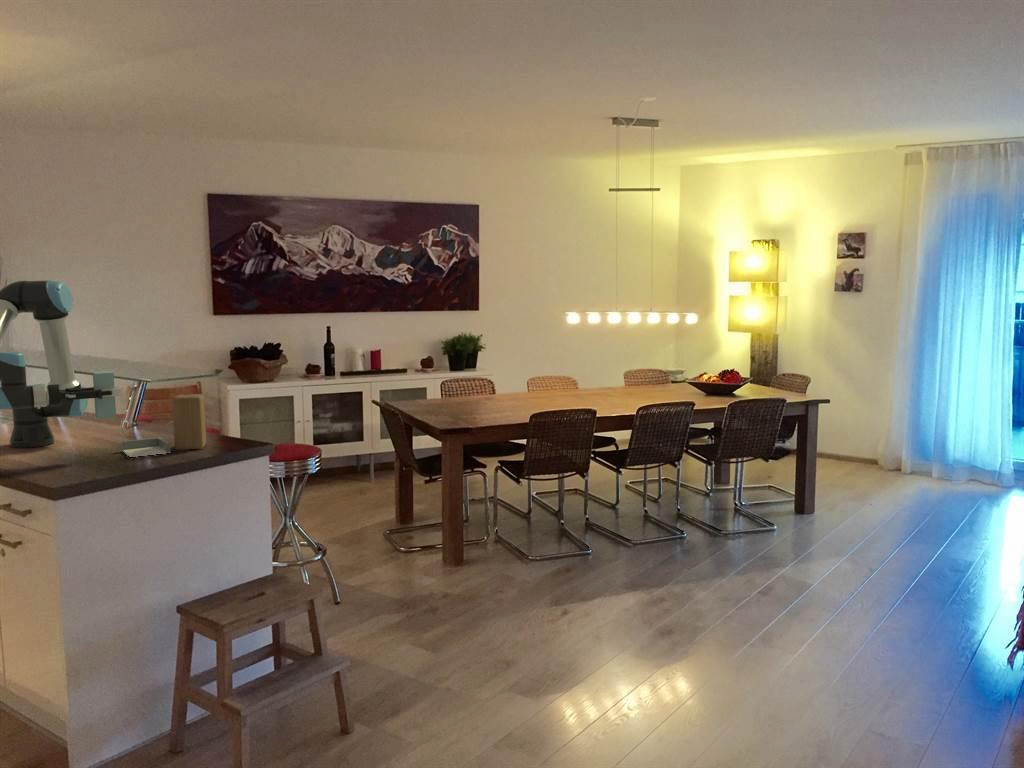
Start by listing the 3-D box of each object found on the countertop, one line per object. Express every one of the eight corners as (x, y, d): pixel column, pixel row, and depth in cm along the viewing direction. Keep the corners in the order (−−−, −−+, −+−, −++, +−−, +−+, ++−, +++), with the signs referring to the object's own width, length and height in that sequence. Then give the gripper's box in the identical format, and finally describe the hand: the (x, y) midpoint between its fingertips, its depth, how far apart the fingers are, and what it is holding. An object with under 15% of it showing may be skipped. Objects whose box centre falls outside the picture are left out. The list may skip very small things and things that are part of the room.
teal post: (95, 416, 307) (92, 372, 305) (113, 414, 310) (111, 371, 308) (97, 418, 302) (94, 373, 300) (116, 417, 305) (113, 372, 303)
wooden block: (174, 450, 319) (171, 397, 317) (179, 445, 329) (176, 394, 326) (202, 449, 321) (200, 397, 319) (206, 444, 331) (204, 393, 328)
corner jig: (122, 451, 318) (121, 441, 317) (161, 447, 326) (161, 437, 325) (129, 458, 306) (128, 447, 306) (170, 453, 314) (169, 442, 314)
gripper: (45, 403, 303) (116, 397, 316) (50, 410, 288) (125, 404, 300) (44, 382, 302) (115, 377, 315) (49, 387, 287) (123, 383, 299)
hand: (120, 390), depth 307 cm, fingers closed on teal post, 6 cm apart
